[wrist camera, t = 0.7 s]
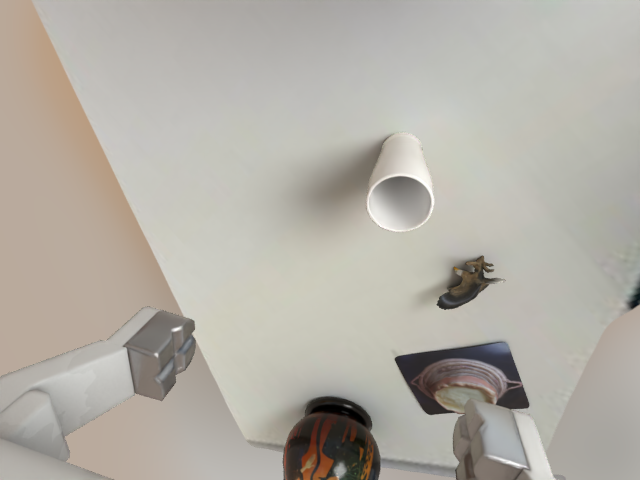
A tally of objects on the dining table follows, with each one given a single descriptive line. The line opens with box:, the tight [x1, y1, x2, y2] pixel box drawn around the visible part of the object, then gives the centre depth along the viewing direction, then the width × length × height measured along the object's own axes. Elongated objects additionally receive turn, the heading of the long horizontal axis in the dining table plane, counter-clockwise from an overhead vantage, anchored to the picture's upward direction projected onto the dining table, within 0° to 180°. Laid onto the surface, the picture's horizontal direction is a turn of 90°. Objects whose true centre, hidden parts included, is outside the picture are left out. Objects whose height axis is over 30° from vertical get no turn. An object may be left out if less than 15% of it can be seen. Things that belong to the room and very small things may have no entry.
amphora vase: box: [283, 397, 380, 480], centre depth 75 cm, size 22×22×28 cm
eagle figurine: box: [437, 256, 505, 310], centre depth 53 cm, size 8×7×9 cm
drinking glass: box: [366, 132, 434, 232], centre depth 41 cm, size 7×7×15 cm
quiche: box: [395, 342, 529, 415], centre depth 69 cm, size 21×20×4 cm
